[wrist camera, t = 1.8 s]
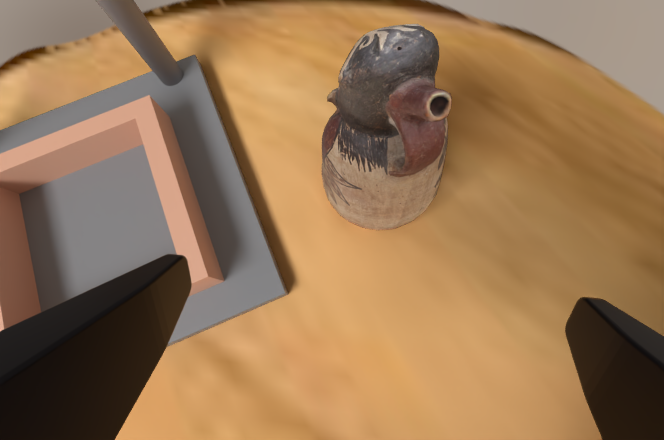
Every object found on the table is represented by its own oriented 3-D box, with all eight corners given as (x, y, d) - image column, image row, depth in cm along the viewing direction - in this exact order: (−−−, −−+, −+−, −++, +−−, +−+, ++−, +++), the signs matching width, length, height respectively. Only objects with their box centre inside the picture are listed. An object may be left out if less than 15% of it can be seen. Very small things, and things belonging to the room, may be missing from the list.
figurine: (409, 116, 24) (460, -65, 13) (453, 211, 23) (557, 99, 11) (309, 150, 24) (269, -4, 13) (345, 248, 22) (336, 174, 11)
